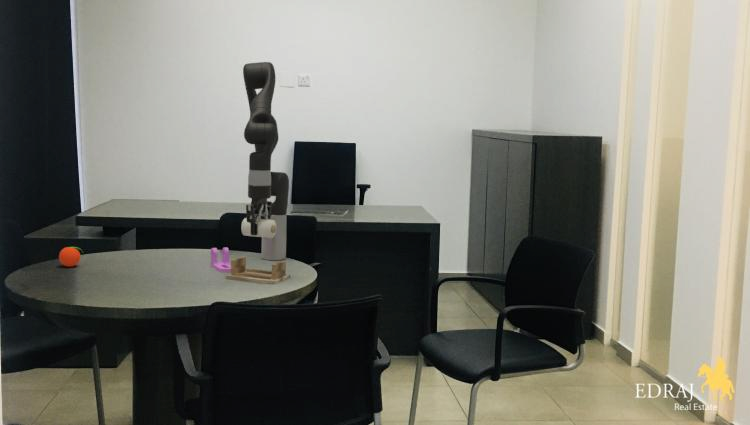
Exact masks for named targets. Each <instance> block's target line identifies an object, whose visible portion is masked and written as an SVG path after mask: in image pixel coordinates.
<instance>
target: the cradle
mask: <svg viewBox="0 0 750 425" xmlns="http://www.w3.org/2000/svg"><path fill="white" fill-rule="evenodd" d="M246 261H247V257H246V256H241V257H237V258H234V259H230V265H231V272H230V273H229V274H226V275H225V279H226V280H232V279H233V280H235V281H243V282H250V281H251V282H250V283H258V282H260V284H267V283H271V284H270V285H276V284H279V283H281V282H283V281H285V279H286V280H288V279H290V278H291V274H287V270H286V269H287V262H286V260H279V261H278V262H275V263H272V264H271V271H270V270H262V269H252V268H251V269H250V268H247V267H246V266H247V263H246ZM246 268H247V269H246ZM280 281H281V282H280ZM278 282H279V283H278ZM275 283H276V284H275Z"/></svg>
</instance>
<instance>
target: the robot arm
mask: <svg viewBox="0 0 750 425" xmlns="http://www.w3.org/2000/svg"><path fill="white" fill-rule="evenodd" d="M242 71H243V72H242V74H243V75H242V76H243V80H244V85H245V91H246V95H247V96H246V97H247V101H248V106H249V119H248V121H247V123H246V126H245V128H244V131H243V137H244V140H245V141H246V143H248V144H250V145H254V151H253V152H251V153H250V154H249V159H248V160H249V161H248V163H249V164H248V166H249V167H248V170H249V171H248V176H247V177H248V178H247V179H248V180H247V181H248V183H247V197H248V198H249V199H251V202H250V204H246V205H245V213H246V214H245V215H246V218H247V222H249V223H250V224H251V235H257V234H258V224H257V223H258V219H267V220H274V221H275V222H276V226H277V229H276V234H275V236H274V237H273V238H266V237H261V252H260V253H261V255H260V256H261V259H262V260H267V261H284V260H286V257H287V214H288V213H287V210H288V206H289V205H288V204H289V192H290V191H289V190H290V189H289V188H290V180H289V176H288V174H287V173H286V172H282V171H271V169H272V168H271V166H272V154H273V153H274V150H275V149H276V147H277V144H278V142H279V132H278V131H279V130H278V124H277V120H276V118H275V117H274V115H272V101H273V97H274V92H275V88H276V70H275V66H274V64H273V62H269V61H262V62H250V63H246V64H244V66H243V67H242ZM259 89H260V91H259V92H258V93H257V90H259ZM271 197H275V199H274V201H273V202H272V201H269V199H271Z"/></svg>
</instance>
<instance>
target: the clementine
mask: <svg viewBox="0 0 750 425" xmlns="http://www.w3.org/2000/svg"><path fill="white" fill-rule="evenodd" d="M79 250H81V252H82V253H83V254H85V253H84V251H82V249H81V248H80V247H78V246H77V247H76V246H67V247H66V246H65V247H64V248H62V249H61V250H60V251H59V255H58V259H59V263H60V264H62V265H63V266H65V267H68V268H71V267H74V266H76V265H77V264H78V263H79V262H80V260H81V253H80V251H79Z"/></svg>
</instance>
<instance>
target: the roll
mask: <svg viewBox="0 0 750 425" xmlns="http://www.w3.org/2000/svg"><path fill="white" fill-rule="evenodd" d="M257 224H258V234H257V235H251V224H250V223H249V222H247V217H244V219H243V220H242V221H241V225H240V226H241V227H240V228H241V234H242V235H243V236H245V237H247V236H248V237H254V238H255V237H256V238H257V237H258V238H262V237H266V238H273V237H274V236H275V234H276V229H277V226H276V222H275V221H274V220H267V219H260V218H259V219H258V223H257Z"/></svg>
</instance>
